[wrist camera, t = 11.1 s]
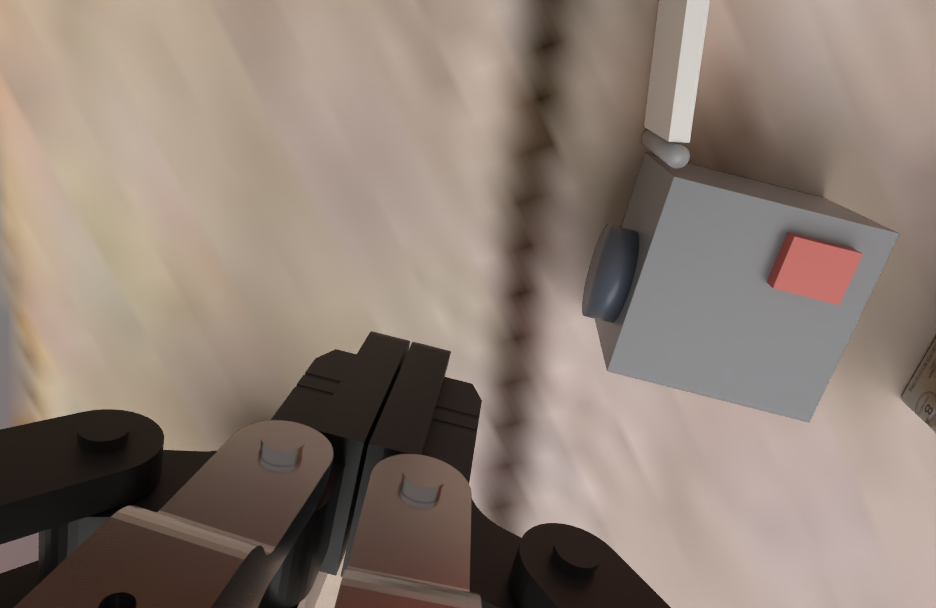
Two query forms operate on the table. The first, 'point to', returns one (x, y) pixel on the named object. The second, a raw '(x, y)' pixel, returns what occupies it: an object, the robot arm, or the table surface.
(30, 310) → the table surface
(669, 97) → the side door
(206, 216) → the table surface
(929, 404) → the coffee box
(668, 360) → the block
